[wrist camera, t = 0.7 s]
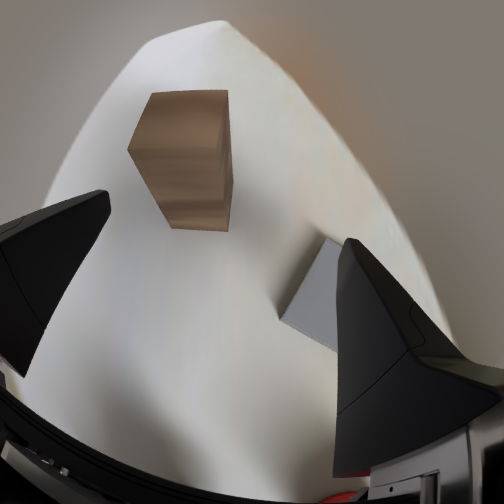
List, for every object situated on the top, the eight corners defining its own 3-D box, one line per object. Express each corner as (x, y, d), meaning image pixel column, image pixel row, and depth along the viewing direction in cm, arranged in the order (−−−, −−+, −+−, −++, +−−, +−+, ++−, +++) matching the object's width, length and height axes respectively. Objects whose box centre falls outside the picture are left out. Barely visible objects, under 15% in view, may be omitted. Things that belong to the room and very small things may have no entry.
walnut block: (228, 231, 26) (216, 147, 14) (171, 228, 26) (127, 149, 14) (233, 182, 28) (227, 89, 16) (181, 180, 27) (152, 93, 16)
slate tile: (352, 361, 22) (363, 363, 20) (278, 320, 24) (282, 318, 21) (386, 288, 25) (399, 282, 22) (320, 247, 26) (327, 238, 24)
